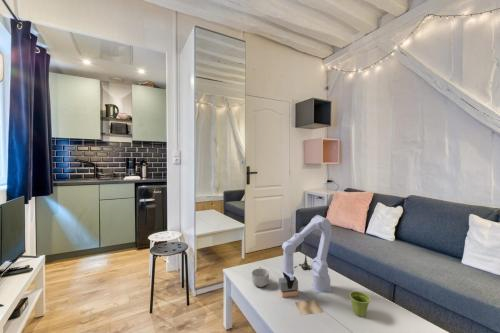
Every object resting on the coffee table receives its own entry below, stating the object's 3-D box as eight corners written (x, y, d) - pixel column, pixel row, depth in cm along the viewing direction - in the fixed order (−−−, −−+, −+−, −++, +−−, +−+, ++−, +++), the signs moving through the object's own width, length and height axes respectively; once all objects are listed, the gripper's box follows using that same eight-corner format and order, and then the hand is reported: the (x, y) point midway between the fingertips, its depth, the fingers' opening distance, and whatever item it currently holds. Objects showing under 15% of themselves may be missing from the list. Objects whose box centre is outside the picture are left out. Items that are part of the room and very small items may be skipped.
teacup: (267, 290, 136) (267, 277, 136) (250, 288, 139) (250, 275, 138) (270, 277, 150) (270, 266, 150) (254, 276, 152) (254, 264, 152)
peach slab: (294, 290, 136) (294, 285, 136) (297, 296, 130) (297, 291, 130) (279, 291, 135) (279, 286, 135) (282, 298, 129) (282, 292, 129)
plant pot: (352, 304, 122) (352, 288, 122) (371, 311, 116) (372, 295, 116) (347, 314, 115) (347, 297, 115) (367, 322, 109) (367, 305, 109)
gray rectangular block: (295, 284, 135) (295, 276, 135) (298, 289, 130) (298, 281, 130) (279, 286, 134) (278, 278, 134) (281, 291, 129) (281, 282, 129)
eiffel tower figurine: (319, 269, 161) (319, 250, 160) (313, 275, 153) (313, 256, 152) (299, 263, 170) (299, 245, 170) (293, 268, 162) (293, 250, 162)
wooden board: (315, 300, 126) (315, 299, 126) (323, 312, 116) (323, 312, 116) (294, 302, 125) (294, 302, 125) (301, 315, 115) (301, 314, 115)
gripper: (278, 257, 138) (278, 279, 139) (285, 269, 124) (285, 293, 124) (289, 256, 139) (289, 278, 140) (297, 268, 125) (297, 292, 125)
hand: (288, 285), depth 132 cm, fingers closed on gray rectangular block, 5 cm apart
